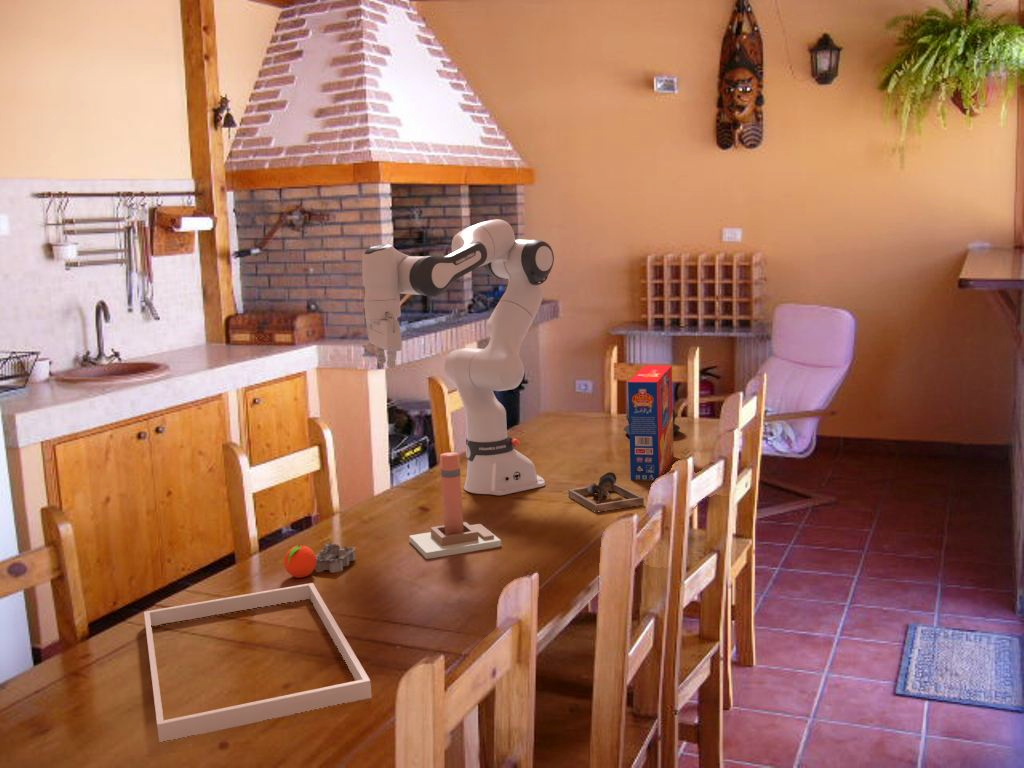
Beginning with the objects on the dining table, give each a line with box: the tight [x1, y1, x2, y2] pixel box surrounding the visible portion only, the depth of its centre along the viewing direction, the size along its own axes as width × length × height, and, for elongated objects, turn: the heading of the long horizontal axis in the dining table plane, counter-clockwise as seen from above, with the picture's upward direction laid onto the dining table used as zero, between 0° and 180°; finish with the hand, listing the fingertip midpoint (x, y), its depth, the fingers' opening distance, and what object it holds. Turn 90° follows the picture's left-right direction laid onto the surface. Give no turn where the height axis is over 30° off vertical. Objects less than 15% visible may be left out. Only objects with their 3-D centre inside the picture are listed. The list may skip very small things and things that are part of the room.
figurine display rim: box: [567, 483, 645, 513], centre depth 276 cm, size 14×17×2 cm
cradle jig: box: [408, 521, 502, 560], centre depth 247 cm, size 18×14×4 cm
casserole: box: [623, 408, 681, 436], centre depth 350 cm, size 25×19×8 cm
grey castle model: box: [314, 541, 357, 574], centre depth 237 cm, size 11×8×4 cm
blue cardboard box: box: [627, 365, 675, 482], centre depth 305 cm, size 28×8×28 cm, turn 163°
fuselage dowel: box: [439, 452, 464, 536], centre depth 245 cm, size 4×4×20 cm
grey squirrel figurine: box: [587, 472, 617, 502], centre depth 279 cm, size 8×7×9 cm
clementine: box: [283, 544, 317, 579], centre depth 229 cm, size 8×7×7 cm
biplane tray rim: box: [143, 582, 373, 743], centre depth 189 cm, size 33×50×3 cm, turn 21°
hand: (386, 365), depth 266 cm, fingers open, 8 cm apart
